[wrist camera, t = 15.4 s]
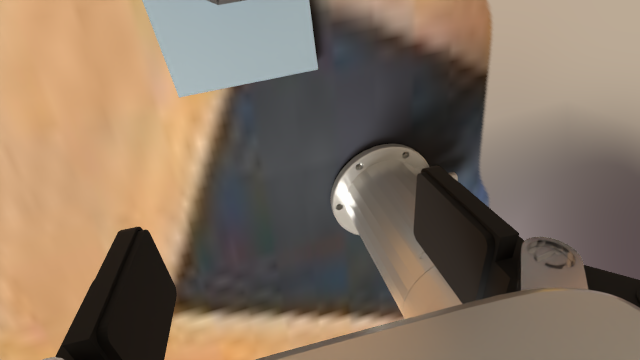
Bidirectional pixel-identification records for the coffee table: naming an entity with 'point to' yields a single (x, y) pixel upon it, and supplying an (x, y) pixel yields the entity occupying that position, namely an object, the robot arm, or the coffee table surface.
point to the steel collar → (223, 1)
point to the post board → (232, 41)
